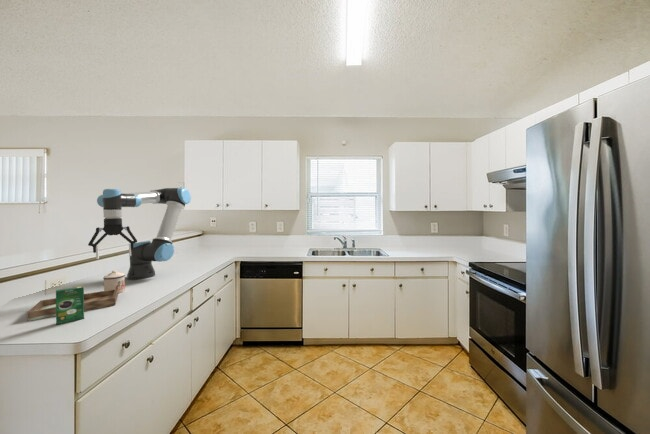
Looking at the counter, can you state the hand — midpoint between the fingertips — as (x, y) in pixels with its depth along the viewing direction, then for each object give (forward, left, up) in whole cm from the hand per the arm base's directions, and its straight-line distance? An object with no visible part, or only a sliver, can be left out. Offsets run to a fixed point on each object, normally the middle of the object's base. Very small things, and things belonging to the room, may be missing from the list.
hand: (114, 257), depth 137 cm
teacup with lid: (0, 0, -19) cm, 19 cm away
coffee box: (+12, +37, -19) cm, 43 cm away
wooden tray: (+12, +18, -19) cm, 28 cm away
